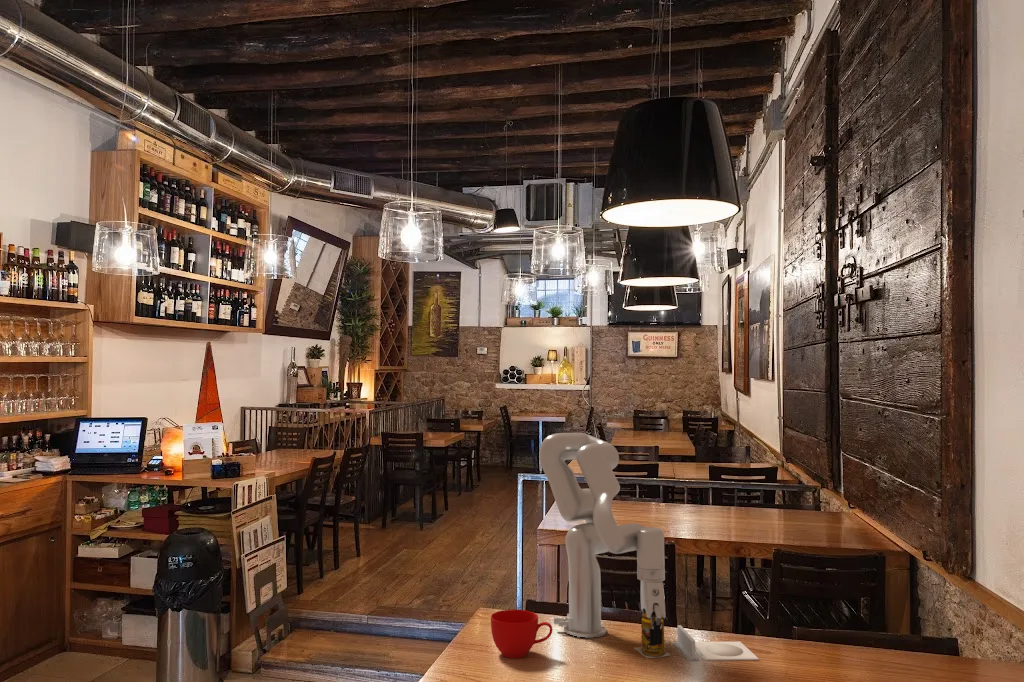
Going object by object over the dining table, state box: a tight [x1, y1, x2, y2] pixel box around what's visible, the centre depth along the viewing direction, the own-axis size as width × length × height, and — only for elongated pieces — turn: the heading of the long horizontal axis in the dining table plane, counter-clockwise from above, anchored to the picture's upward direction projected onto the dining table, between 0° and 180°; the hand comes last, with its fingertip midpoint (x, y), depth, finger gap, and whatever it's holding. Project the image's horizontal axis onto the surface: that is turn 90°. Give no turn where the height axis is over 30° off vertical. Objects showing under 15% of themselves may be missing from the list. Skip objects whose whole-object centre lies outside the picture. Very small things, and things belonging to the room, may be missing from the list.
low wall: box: [673, 624, 700, 662], centre depth 195 cm, size 3×14×5 cm, turn 2°
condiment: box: [633, 608, 671, 659], centre depth 195 cm, size 7×8×12 cm
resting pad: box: [695, 641, 760, 662], centre depth 196 cm, size 14×14×1 cm
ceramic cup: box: [490, 609, 553, 659], centre depth 193 cm, size 13×17×10 cm
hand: (652, 638), depth 195 cm, fingers open, 8 cm apart
